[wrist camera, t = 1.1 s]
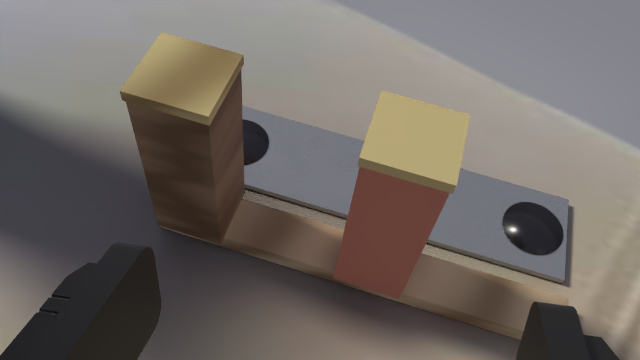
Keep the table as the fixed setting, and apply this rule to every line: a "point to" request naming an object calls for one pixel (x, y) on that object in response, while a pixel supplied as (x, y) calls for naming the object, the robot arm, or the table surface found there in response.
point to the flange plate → (455, 218)
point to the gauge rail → (258, 220)
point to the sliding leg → (399, 191)
